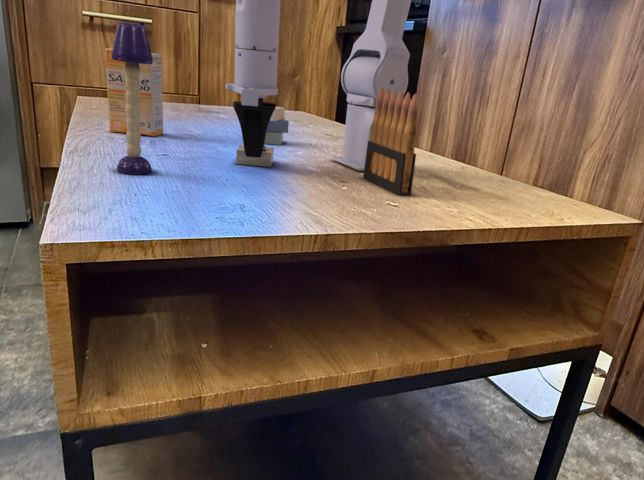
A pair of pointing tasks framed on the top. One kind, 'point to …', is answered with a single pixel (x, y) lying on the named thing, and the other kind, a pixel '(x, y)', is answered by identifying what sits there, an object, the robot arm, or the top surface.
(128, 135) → the toy lamp
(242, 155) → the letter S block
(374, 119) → the ammunition clip
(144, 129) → the supplement box
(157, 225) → the top surface
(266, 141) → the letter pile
